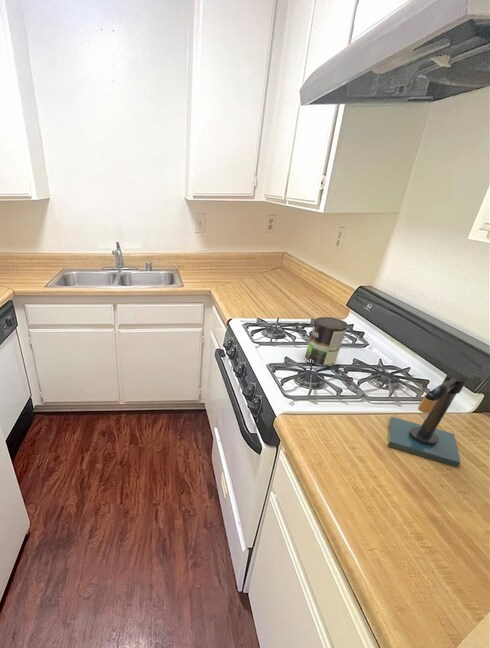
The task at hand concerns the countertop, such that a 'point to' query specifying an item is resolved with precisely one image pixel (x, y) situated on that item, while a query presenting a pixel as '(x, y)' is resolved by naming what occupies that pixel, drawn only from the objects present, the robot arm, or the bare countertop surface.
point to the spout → (442, 391)
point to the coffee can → (325, 340)
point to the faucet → (426, 435)
